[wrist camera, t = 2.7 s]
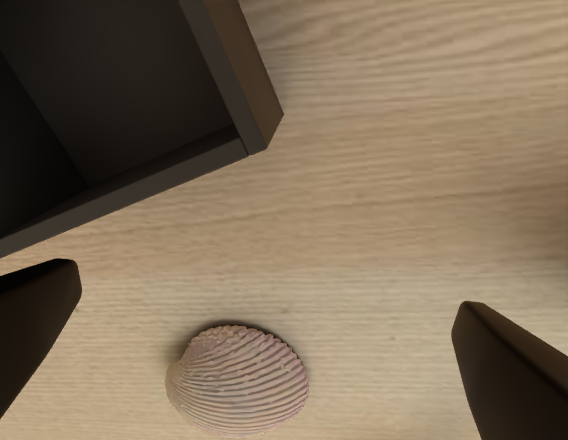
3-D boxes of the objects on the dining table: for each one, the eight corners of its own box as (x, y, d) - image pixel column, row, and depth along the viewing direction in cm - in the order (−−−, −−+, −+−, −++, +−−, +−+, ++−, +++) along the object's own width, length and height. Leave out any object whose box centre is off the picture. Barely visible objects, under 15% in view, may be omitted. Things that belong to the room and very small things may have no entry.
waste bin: (179, -143, 15) (58, -327, 8) (284, 114, 19) (267, 149, 12) (-36, -7, 18) (-272, -51, 11) (95, 195, 22) (-12, 263, 15)
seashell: (158, 335, 22) (313, 404, 20) (201, 290, 27) (329, 343, 25) (140, 444, 26) (269, 509, 24) (180, 387, 31) (289, 438, 29)
